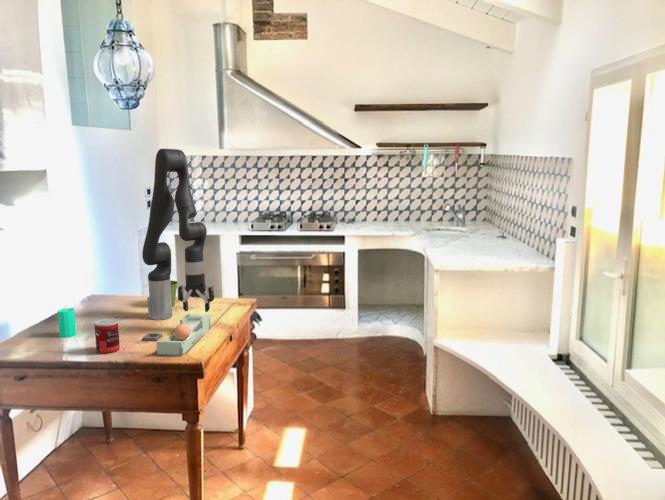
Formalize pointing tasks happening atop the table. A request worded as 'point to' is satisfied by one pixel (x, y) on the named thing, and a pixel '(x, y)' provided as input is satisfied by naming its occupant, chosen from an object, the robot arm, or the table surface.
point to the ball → (182, 331)
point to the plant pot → (173, 290)
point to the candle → (66, 322)
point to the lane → (177, 347)
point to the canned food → (107, 336)
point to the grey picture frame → (152, 337)
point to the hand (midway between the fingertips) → (196, 311)
